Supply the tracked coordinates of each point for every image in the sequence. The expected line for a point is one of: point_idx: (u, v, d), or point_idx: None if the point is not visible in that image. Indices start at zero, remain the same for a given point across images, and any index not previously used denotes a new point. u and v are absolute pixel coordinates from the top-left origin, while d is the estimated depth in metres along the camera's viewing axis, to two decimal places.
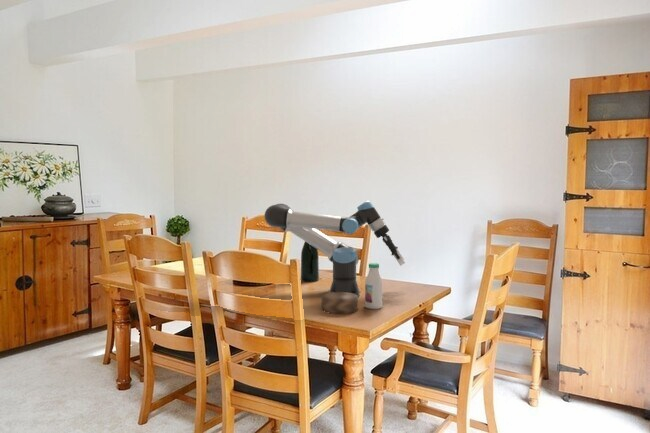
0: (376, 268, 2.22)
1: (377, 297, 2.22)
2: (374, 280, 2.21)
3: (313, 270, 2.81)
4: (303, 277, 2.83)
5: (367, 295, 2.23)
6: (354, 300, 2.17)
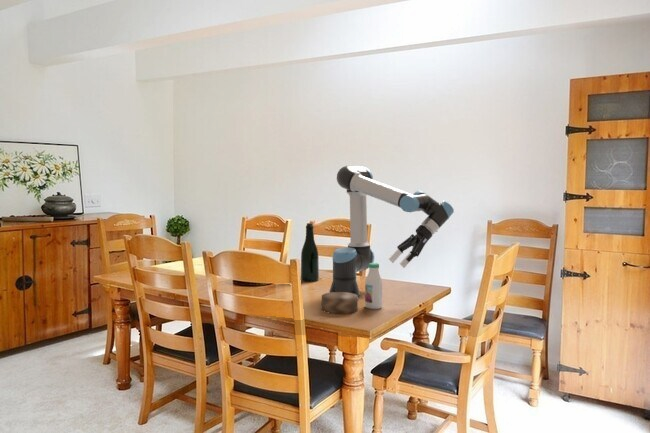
0: (376, 268, 2.22)
1: (377, 297, 2.22)
2: (374, 280, 2.21)
3: (313, 270, 2.81)
4: (303, 277, 2.83)
5: (367, 295, 2.23)
6: (354, 300, 2.17)
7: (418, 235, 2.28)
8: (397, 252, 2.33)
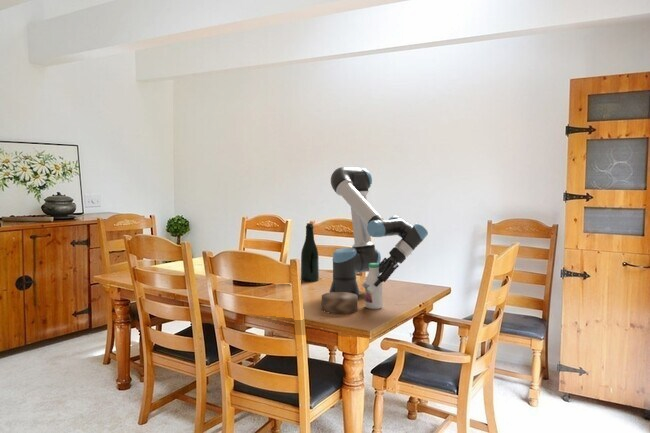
0: (376, 268, 2.22)
1: (377, 297, 2.22)
2: (374, 280, 2.21)
3: (313, 270, 2.81)
4: (303, 277, 2.83)
5: (367, 295, 2.23)
6: (354, 300, 2.17)
7: (391, 258, 2.26)
8: None
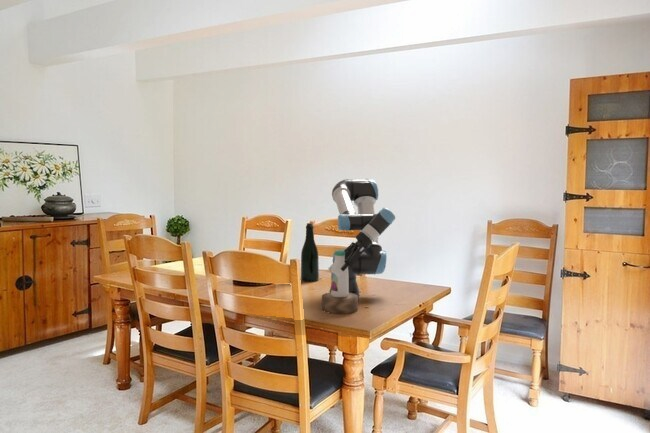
0: (342, 256, 2.18)
1: (343, 286, 2.18)
2: None
3: (313, 270, 2.81)
4: (303, 277, 2.83)
5: (333, 283, 2.19)
6: (354, 300, 2.17)
7: (358, 242, 2.22)
8: None
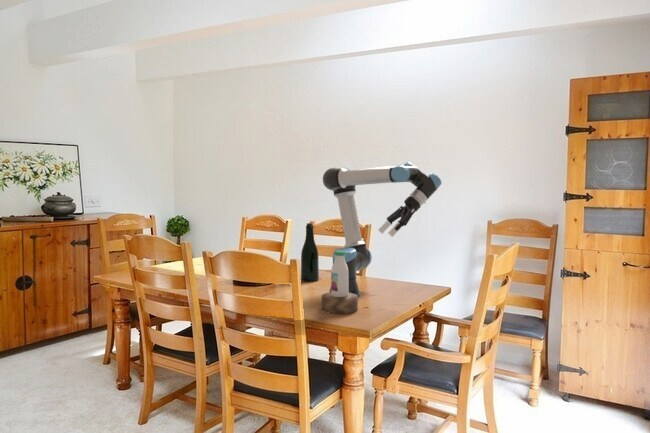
0: (342, 256, 2.18)
1: (343, 286, 2.18)
2: (339, 268, 2.17)
3: (313, 270, 2.81)
4: (303, 277, 2.83)
5: (333, 283, 2.19)
6: (354, 300, 2.17)
7: (407, 206, 2.34)
8: (386, 223, 2.39)
